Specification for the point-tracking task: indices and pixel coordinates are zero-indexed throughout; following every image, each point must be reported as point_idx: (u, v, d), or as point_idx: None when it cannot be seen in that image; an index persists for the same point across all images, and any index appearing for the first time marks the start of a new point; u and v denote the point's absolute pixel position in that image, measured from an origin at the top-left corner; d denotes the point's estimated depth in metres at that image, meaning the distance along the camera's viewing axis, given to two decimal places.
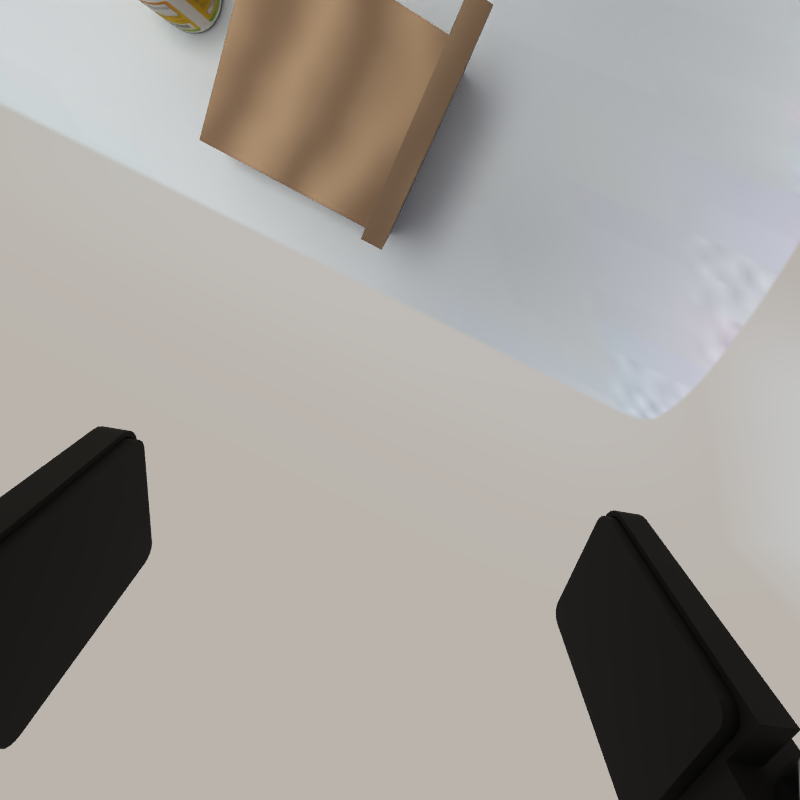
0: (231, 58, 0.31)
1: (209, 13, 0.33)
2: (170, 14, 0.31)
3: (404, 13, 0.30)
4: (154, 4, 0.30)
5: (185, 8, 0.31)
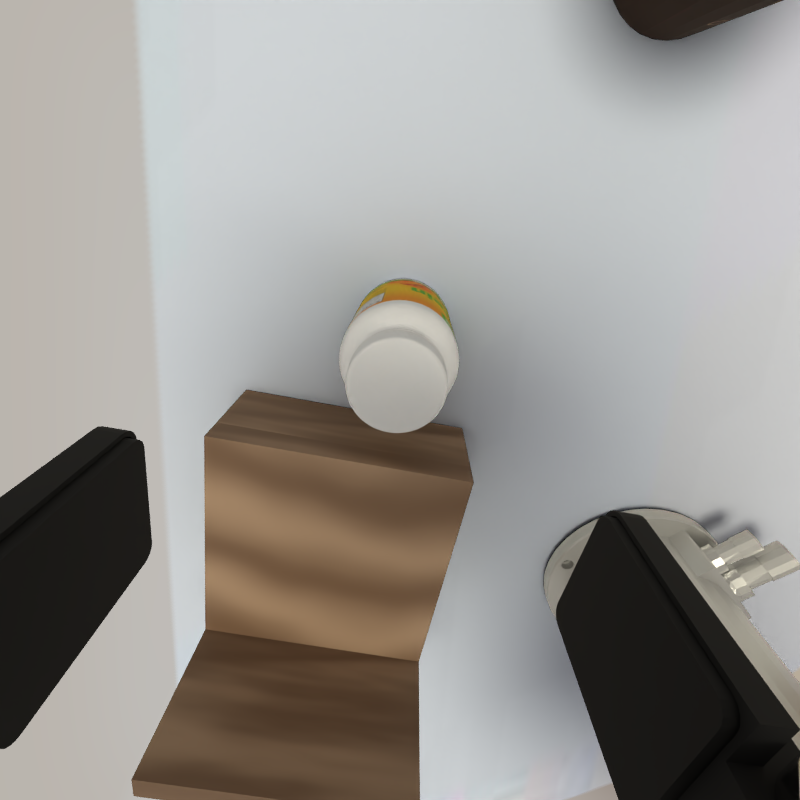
0: (319, 467, 0.22)
1: None
2: None
3: (425, 621, 0.27)
4: None
5: None
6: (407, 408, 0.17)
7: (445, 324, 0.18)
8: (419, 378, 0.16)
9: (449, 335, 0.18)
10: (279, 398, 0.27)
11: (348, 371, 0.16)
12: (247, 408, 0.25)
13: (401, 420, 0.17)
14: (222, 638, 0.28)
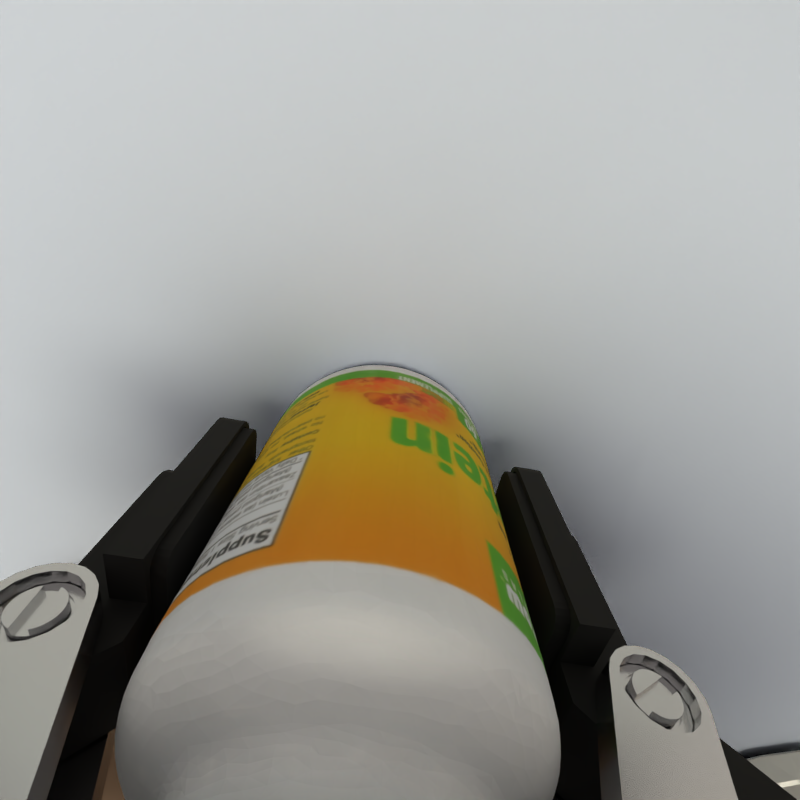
0: None
1: None
2: None
3: None
4: None
5: None
6: None
7: (518, 662, 0.05)
8: None
9: (536, 721, 0.04)
10: None
11: None
12: None
13: None
14: None
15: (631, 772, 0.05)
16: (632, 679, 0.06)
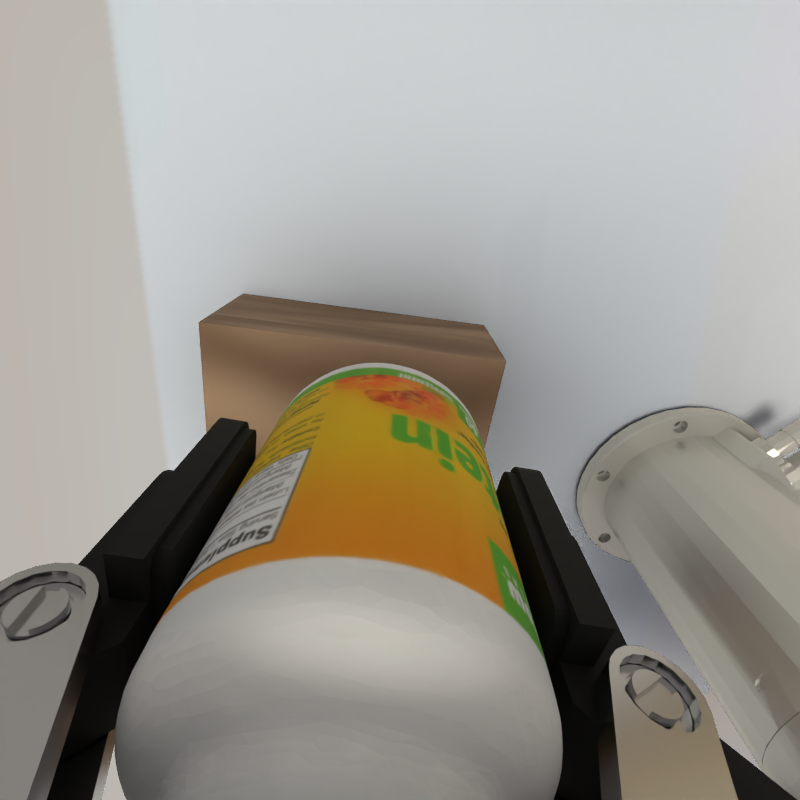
0: (331, 354, 0.20)
1: None
2: None
3: None
4: None
5: None
6: None
7: (520, 658, 0.05)
8: None
9: (538, 717, 0.04)
10: (280, 300, 0.24)
11: None
12: (245, 305, 0.23)
13: None
14: None
15: (631, 773, 0.05)
16: (632, 679, 0.06)
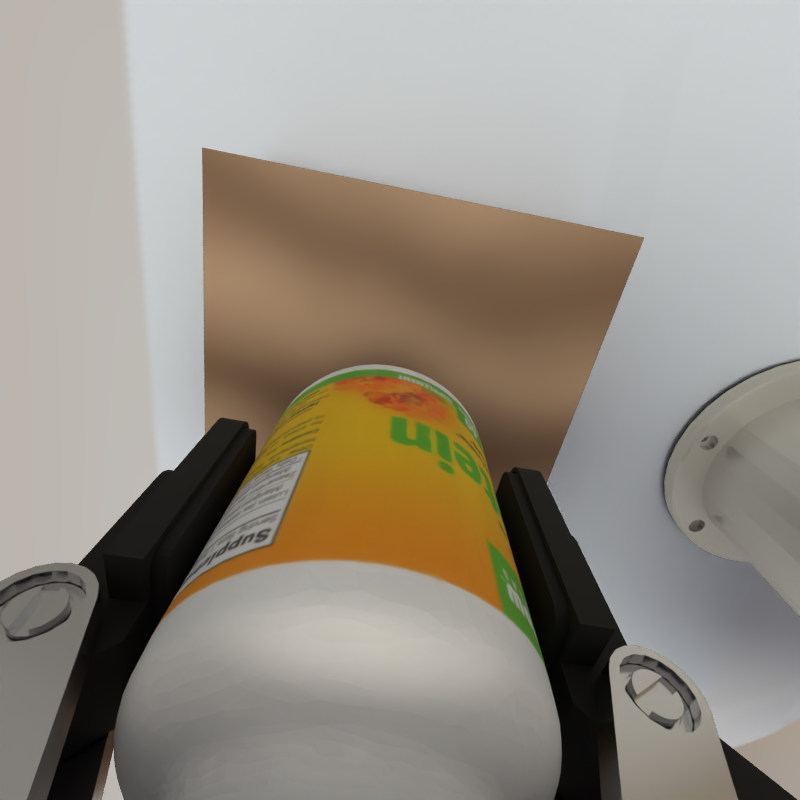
0: (392, 212, 0.14)
1: None
2: None
3: None
4: None
5: None
6: None
7: (519, 662, 0.05)
8: None
9: (537, 722, 0.04)
10: None
11: None
12: None
13: None
14: None
15: (631, 772, 0.05)
16: (632, 679, 0.06)
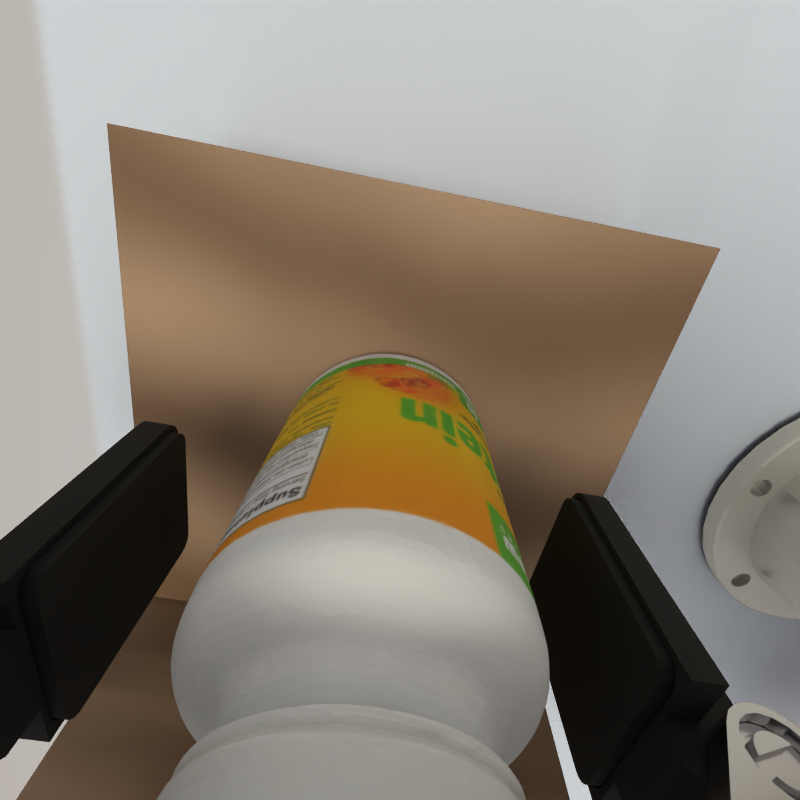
0: (375, 213, 0.10)
1: None
2: None
3: None
4: None
5: None
6: None
7: (513, 593, 0.05)
8: None
9: (527, 640, 0.05)
10: None
11: None
12: None
13: None
14: (179, 611, 0.15)
15: None
16: (754, 738, 0.05)
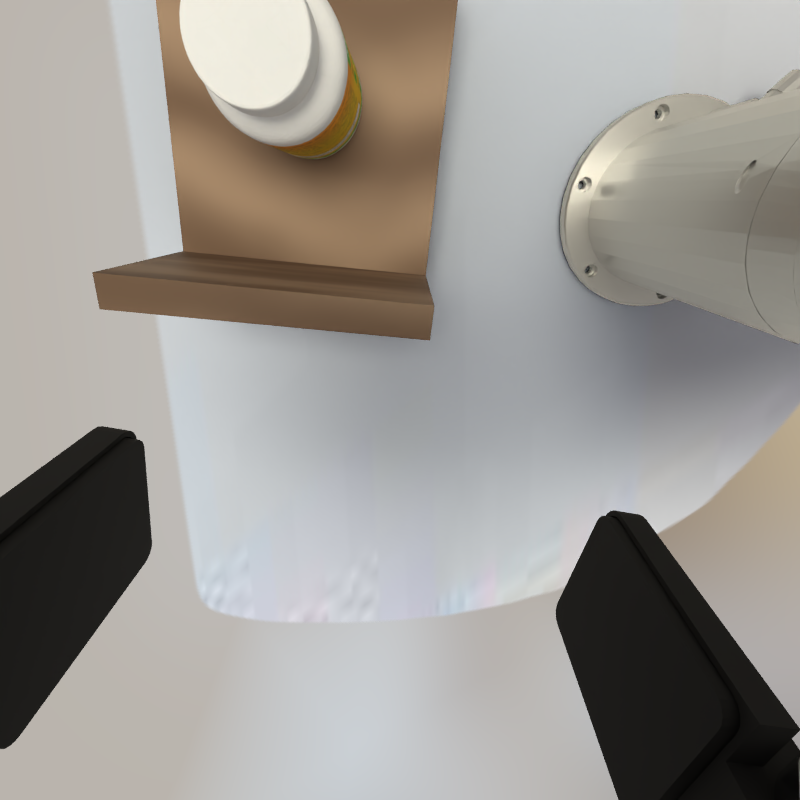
0: None
1: None
2: None
3: (427, 204, 0.24)
4: None
5: None
6: (265, 64, 0.13)
7: None
8: (271, 9, 0.13)
9: None
10: None
11: (180, 10, 0.13)
12: None
13: (261, 85, 0.13)
14: (202, 254, 0.24)
15: None
16: None
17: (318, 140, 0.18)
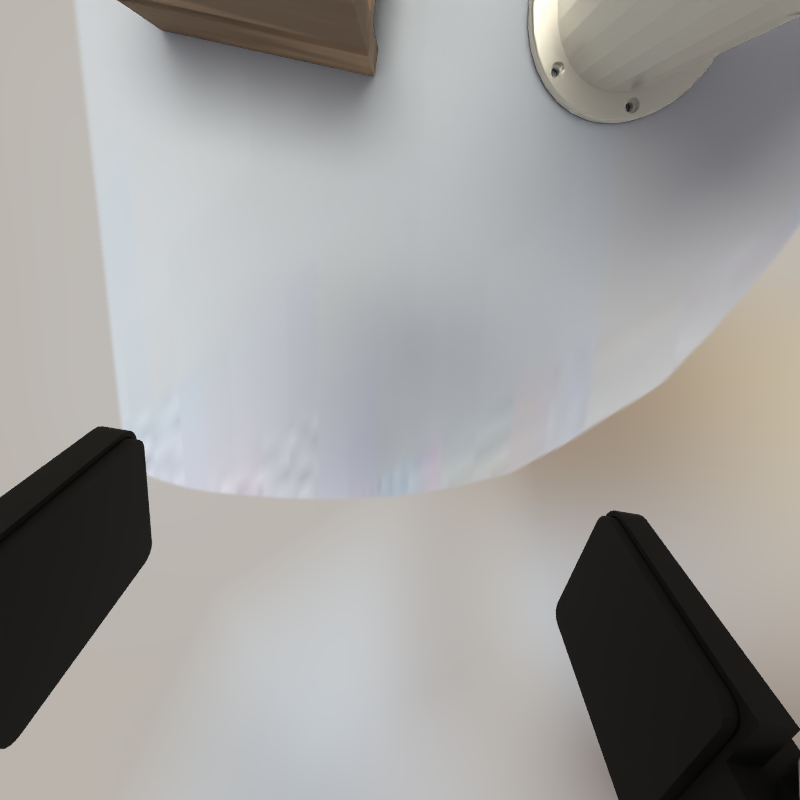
0: None
1: None
2: None
3: None
4: None
5: None
6: None
7: None
8: None
9: None
10: None
11: None
12: None
13: None
14: None
15: None
16: None
17: None
